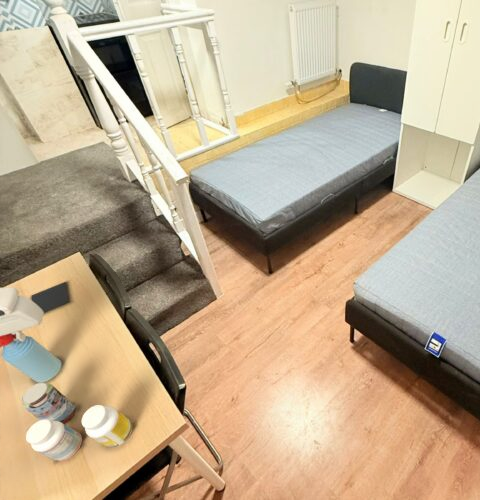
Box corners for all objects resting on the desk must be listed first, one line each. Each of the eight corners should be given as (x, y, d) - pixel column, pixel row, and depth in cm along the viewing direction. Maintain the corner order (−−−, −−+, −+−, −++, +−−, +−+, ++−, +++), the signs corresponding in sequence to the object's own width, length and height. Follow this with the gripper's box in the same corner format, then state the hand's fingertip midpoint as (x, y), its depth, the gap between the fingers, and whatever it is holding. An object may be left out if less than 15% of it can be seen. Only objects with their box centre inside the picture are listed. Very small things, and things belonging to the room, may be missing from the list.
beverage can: (54, 436, 79) (20, 418, 71) (46, 412, 83) (14, 393, 75) (82, 417, 82) (53, 397, 74) (74, 395, 86) (45, 374, 78)
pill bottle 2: (133, 414, 82) (110, 395, 74) (133, 441, 78) (109, 424, 70) (104, 425, 81) (78, 407, 72) (103, 453, 76) (75, 437, 68)
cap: (-7, 345, 79) (-14, 340, 77) (6, 331, 82) (0, 326, 80) (6, 348, 78) (-1, 343, 77) (19, 334, 81) (13, 328, 79)
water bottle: (29, 385, 88) (-21, 352, 76) (38, 362, 93) (-8, 327, 81) (57, 379, 89) (12, 345, 77) (64, 356, 94) (23, 321, 82)
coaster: (33, 317, 104) (32, 316, 104) (32, 296, 110) (31, 295, 110) (69, 302, 108) (68, 301, 107) (66, 282, 114) (65, 281, 113)
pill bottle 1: (54, 440, 79) (22, 424, 71) (82, 427, 80) (55, 410, 73) (52, 467, 75) (19, 452, 67) (83, 452, 77) (53, 437, 69)
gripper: (-102, 337, 67) (-46, 369, 76) (15, 306, 71) (54, 340, 81) (-86, 312, 71) (-35, 345, 81) (23, 285, 75) (59, 319, 85)
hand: (10, 342), depth 81 cm, fingers closed on cap, 4 cm apart
